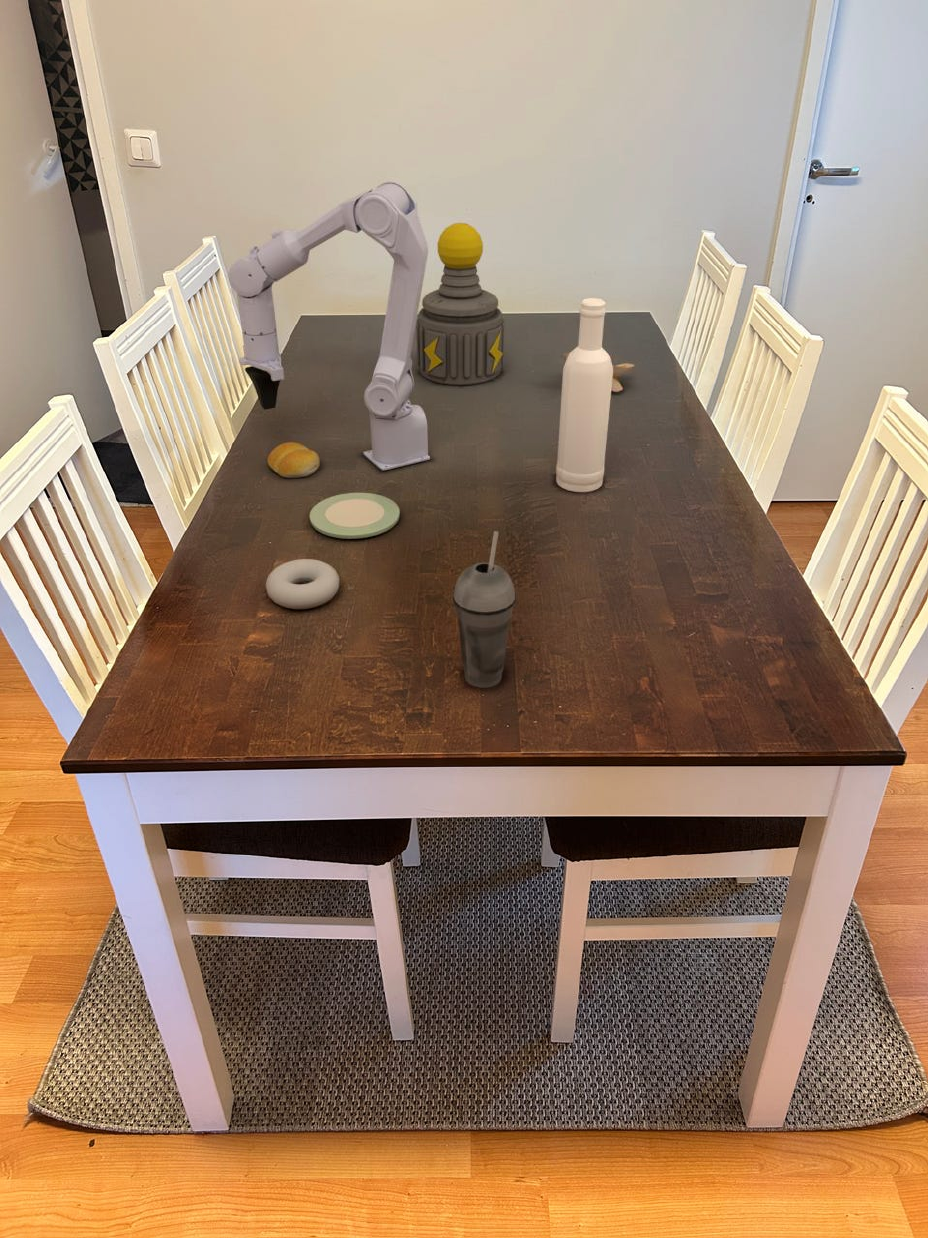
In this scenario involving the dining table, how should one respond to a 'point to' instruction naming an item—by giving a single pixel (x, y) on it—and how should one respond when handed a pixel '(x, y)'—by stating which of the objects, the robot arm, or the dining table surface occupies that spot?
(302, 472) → the bread roll
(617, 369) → the decorative flower
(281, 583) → the donut
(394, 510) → the plate
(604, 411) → the bottle
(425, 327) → the decorative lamp
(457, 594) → the beverage cup
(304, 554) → the dining table surface
